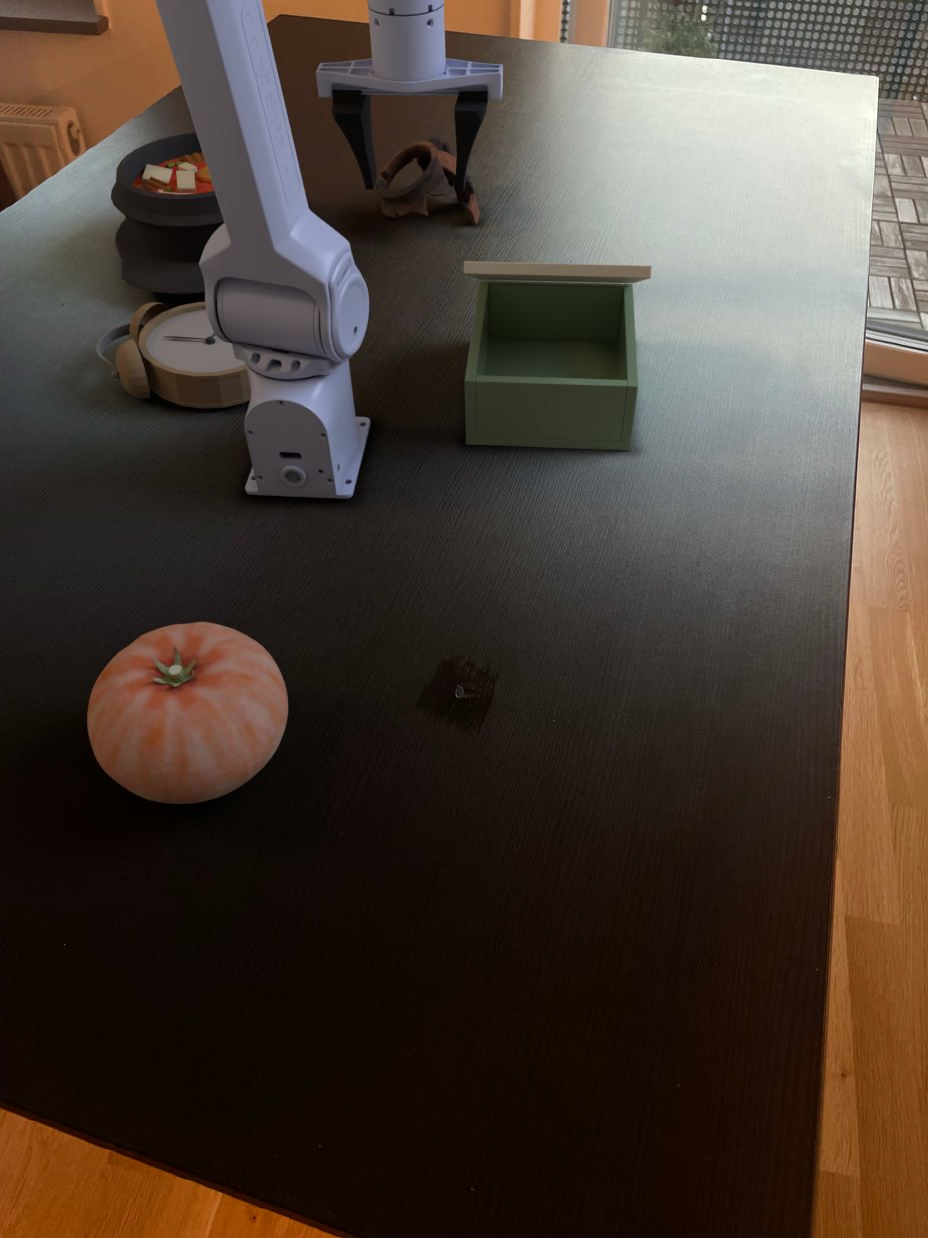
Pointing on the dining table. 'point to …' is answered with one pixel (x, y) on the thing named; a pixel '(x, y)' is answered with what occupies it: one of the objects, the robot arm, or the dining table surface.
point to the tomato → (187, 713)
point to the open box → (552, 365)
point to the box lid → (557, 272)
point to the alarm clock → (176, 358)
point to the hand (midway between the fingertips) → (415, 185)
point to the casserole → (165, 214)
